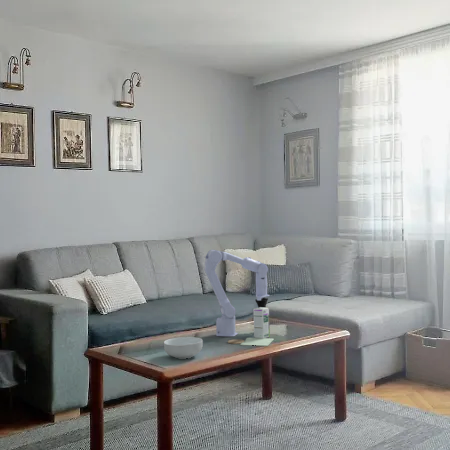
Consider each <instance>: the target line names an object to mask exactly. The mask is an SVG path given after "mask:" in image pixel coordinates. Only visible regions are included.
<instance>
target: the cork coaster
mask: <svg viewBox="0 0 450 450" xmlns="http://www.w3.org/2000/svg"><path fill="white" fill-rule="evenodd" d="M244 341H245V339H238V338H237V339H230V340H229V339H228V340H227V343H228V344H231V345H232V344H233V345H238V344H239V345H240V344H241V343H243V342H244Z"/></svg>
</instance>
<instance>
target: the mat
mask: <svg viewBox="0 0 450 450" xmlns="http://www.w3.org/2000/svg"><path fill="white" fill-rule="evenodd" d="M274 339H275V338H270V337H267V338H255V337H246V339H244V342H243V343H241V344H239V346H252V345H254V346H253V347H255V345H256V347H268V346H269V345H270V344H271V343H272V342H273V341H274Z"/></svg>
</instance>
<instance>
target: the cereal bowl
mask: <svg viewBox="0 0 450 450" xmlns="http://www.w3.org/2000/svg"><path fill="white" fill-rule="evenodd" d="M203 342H204V341H203V339H202V338H200V337H194V336H193V337H192V336H182V337H172V338H169V339H166V340H164V342H163V349H164V352H165V353H166V354H167V355H168V356H170V357H173V358H175V359H176V358H179V359H178V360H187V359H186V358H188V359H191V357H192V358H193V357H194V356H196V355H198V354H199V353H200V352H201V351H202V349H203V345H204V343H203Z"/></svg>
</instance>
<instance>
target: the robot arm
mask: <svg viewBox="0 0 450 450" xmlns="http://www.w3.org/2000/svg"><path fill="white" fill-rule="evenodd" d="M221 261H223V262H224V261H229V262H233V263H235V264H239V265H241V267H242V268H243V269H245V270H248V271H250V272H253V273H254V272H255V297H256V299H255V303H256V305H257V308H261V307H266V306H267V303H268V301H269V298H268V297H270V294H268V276H267V273H268V271H269V268H268V266H267V264H266V263H264V262H263V263H262V262H261V261H260V260H255V259H252V257H251V256H250V257H249V256H248V257H247V256H245V257H243V258H242V257H240V256H238V255H235V254H232V253H229V252H226V251H221V250H217V249H210V250H209V251H208V252H207V254H206V255H205V261H204V273H205V276H206V277H207V279H208V281H209V283H210V285H211V287H212V290H213V292H214V294H215V297H216V298H217V301H218V304H219V307H220V309H219V311H220V313H221V316H220V317H217V318H216V322H215V323H216V324H215V327H216V328H215V329H216V331H215V332H216V335H215V337H236V336H237V335H238V332H236V316H235V315H236V313H237V312H236V311H237V310H236V307H234V306H233V305H232V304H231V301H230V300H229V298H228V296H227V294H226V292H225V290H224V288H223V286H222V284H221V281H220V278H219V276H218V274H217V272H216V268H217V267H218V264H219V263H220V262H221ZM266 308H267V307H266Z"/></svg>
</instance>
